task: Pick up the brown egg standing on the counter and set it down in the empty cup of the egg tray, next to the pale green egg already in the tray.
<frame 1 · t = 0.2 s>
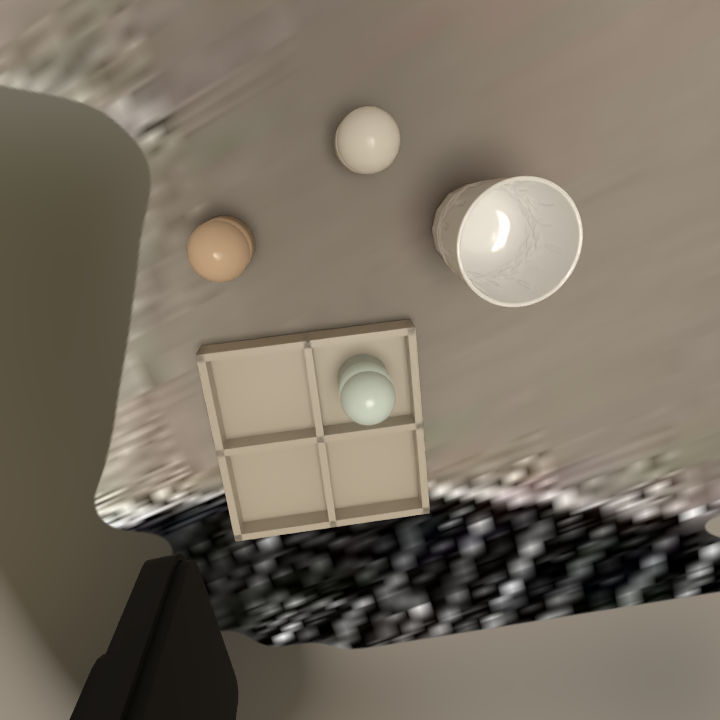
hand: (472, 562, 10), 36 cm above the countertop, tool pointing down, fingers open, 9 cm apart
white cup: (473, 227, 44), on the countertop
brown egg: (226, 244, 43), on the countertop
egg tray: (320, 426, 48), on the countertop
green egg: (362, 378, 46), point 1 cm above the countertop, touching egg tray
white egg: (362, 143, 41), on the countertop
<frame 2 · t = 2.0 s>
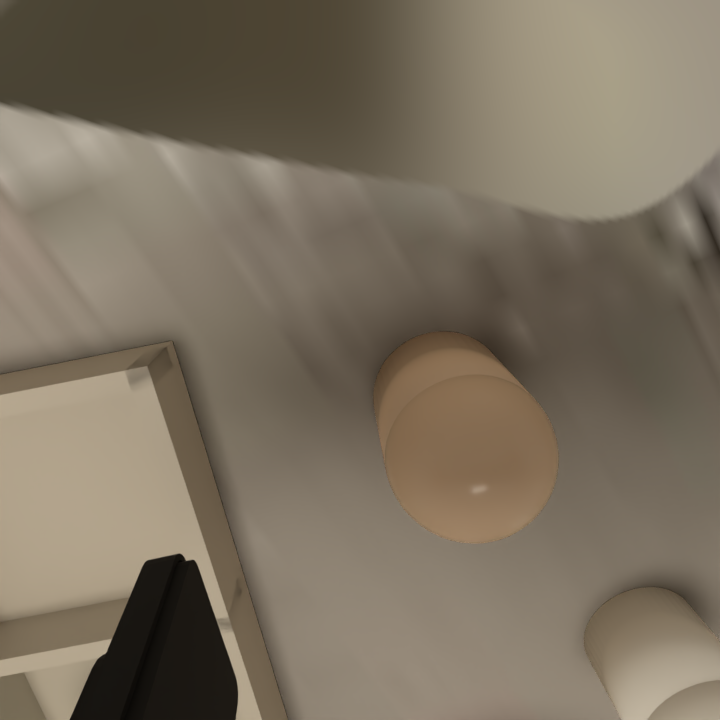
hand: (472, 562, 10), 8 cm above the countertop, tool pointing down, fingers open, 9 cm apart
brown egg: (439, 395, 18), on the countertop
egg tray: (4, 617, 19), on the countertop
white egg: (639, 633, 21), on the countertop
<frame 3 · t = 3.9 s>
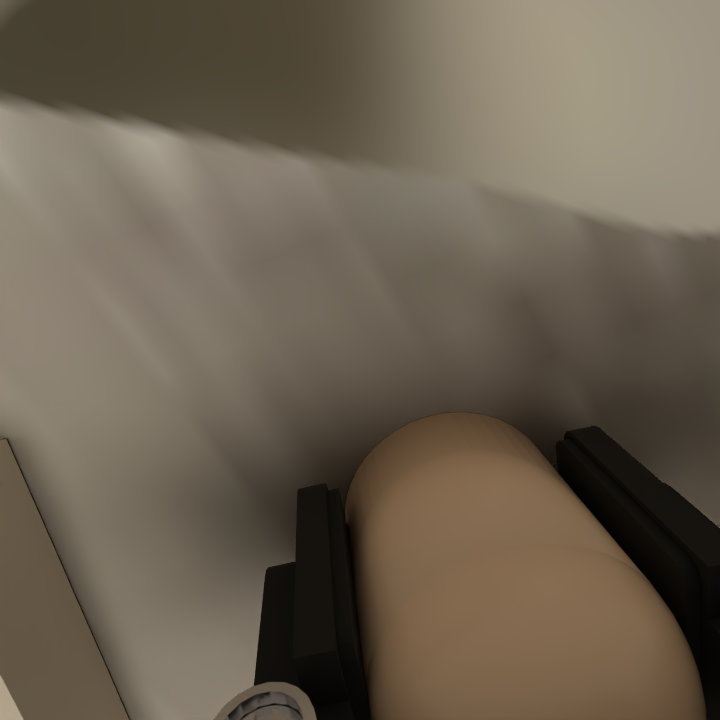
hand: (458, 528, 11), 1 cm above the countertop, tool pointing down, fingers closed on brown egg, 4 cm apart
brown egg: (449, 508, 11), on the countertop, touching gripper
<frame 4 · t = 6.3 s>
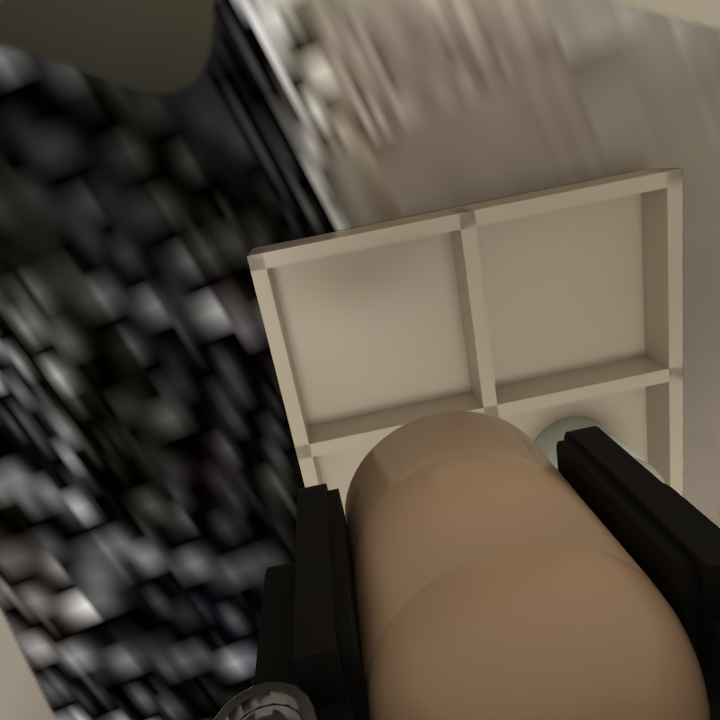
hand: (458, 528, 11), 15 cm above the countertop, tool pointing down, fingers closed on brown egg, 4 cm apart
brown egg: (450, 508, 11), point 14 cm above the countertop, touching gripper
egg tray: (475, 392, 26), on the countertop
green egg: (571, 456, 27), point 1 cm above the countertop, touching egg tray
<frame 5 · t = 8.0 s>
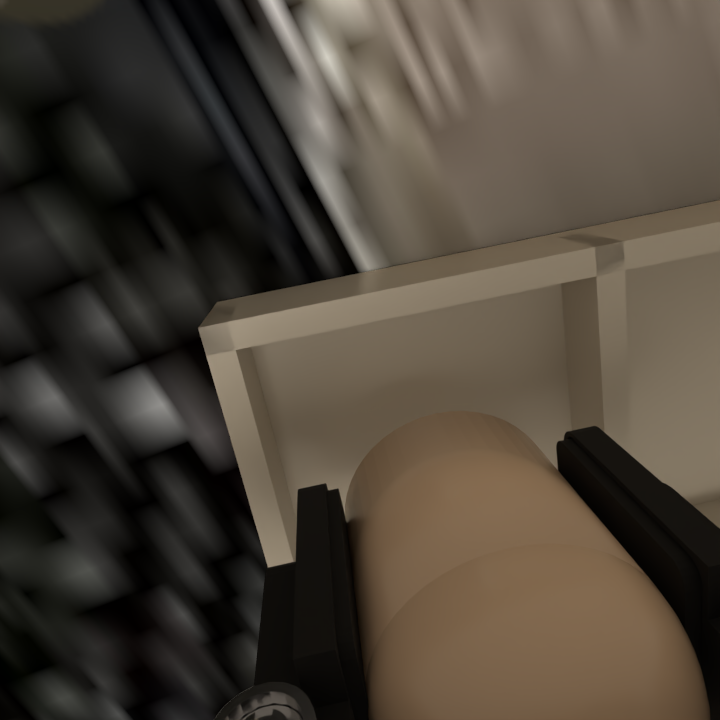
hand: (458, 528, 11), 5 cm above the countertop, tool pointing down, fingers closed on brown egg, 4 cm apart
brown egg: (450, 508, 11), point 4 cm above the countertop, touching gripper
egg tray: (580, 523, 16), on the countertop
when the fingers open (3 cm above the countertop, at t = 9.0 s): brown egg drops 2 cm, resting on egg tray.
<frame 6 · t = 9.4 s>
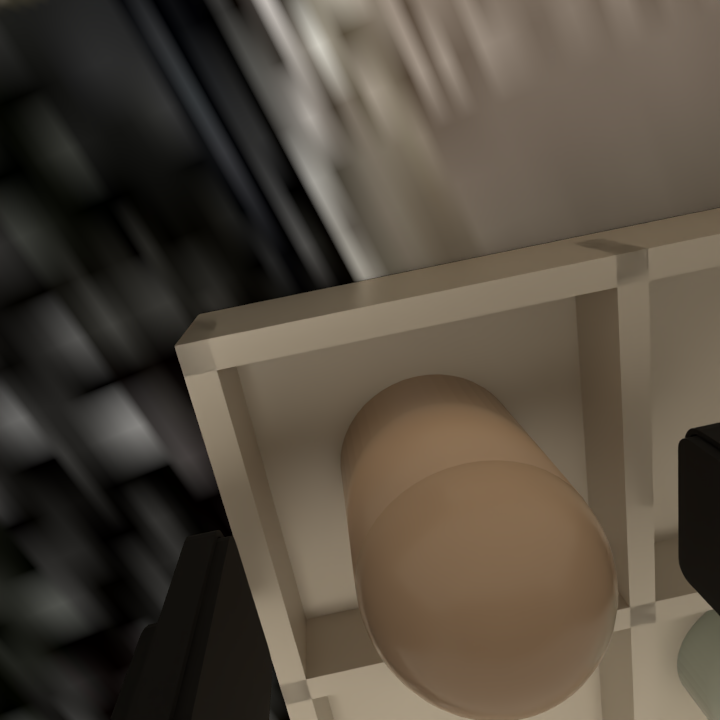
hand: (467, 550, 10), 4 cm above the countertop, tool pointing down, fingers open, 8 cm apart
brown egg: (429, 458, 13), point 1 cm above the countertop, touching egg tray
egg tray: (592, 549, 15), on the countertop
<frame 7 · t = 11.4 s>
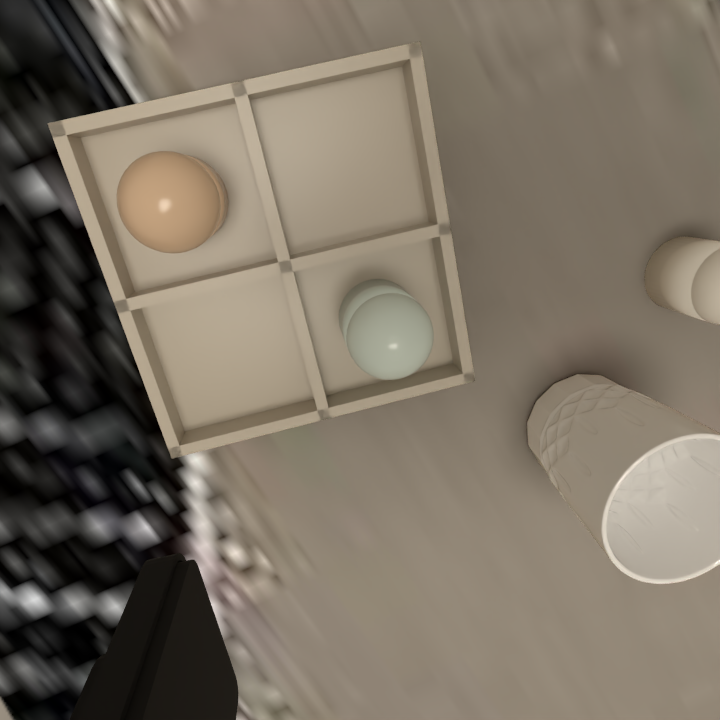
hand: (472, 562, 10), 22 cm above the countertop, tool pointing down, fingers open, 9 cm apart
white cup: (575, 422, 36), on the countertop
brown egg: (185, 200, 28), point 1 cm above the countertop, touching egg tray
egg tray: (285, 260, 30), on the countertop
green egg: (376, 317, 31), point 1 cm above the countertop, touching egg tray
white egg: (678, 272, 33), on the countertop
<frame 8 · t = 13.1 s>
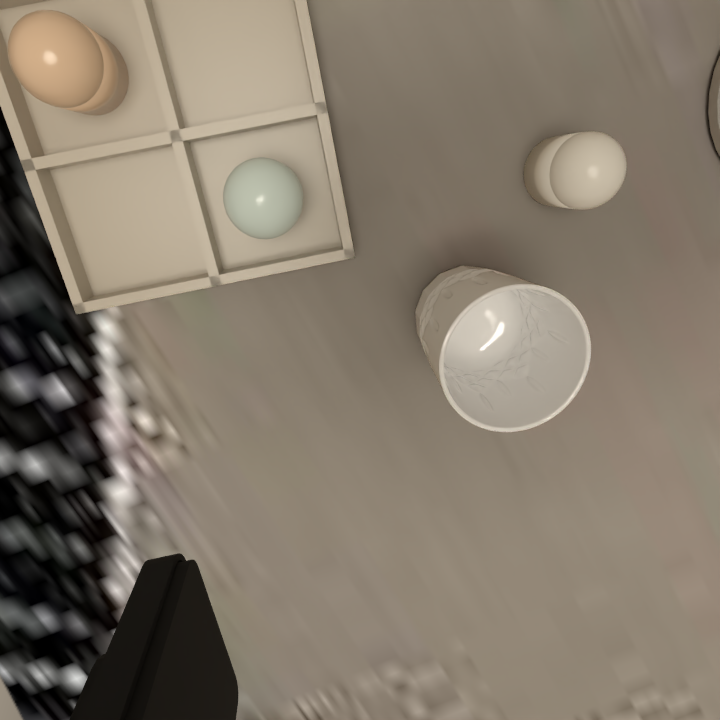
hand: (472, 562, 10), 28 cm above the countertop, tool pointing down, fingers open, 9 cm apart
white cup: (463, 314, 38), on the countertop
brown egg: (89, 74, 31), point 1 cm above the countertop, touching egg tray
egg tray: (184, 138, 33), on the countertop
green egg: (268, 196, 34), point 1 cm above the countertop, touching egg tray
white egg: (556, 171, 36), on the countertop
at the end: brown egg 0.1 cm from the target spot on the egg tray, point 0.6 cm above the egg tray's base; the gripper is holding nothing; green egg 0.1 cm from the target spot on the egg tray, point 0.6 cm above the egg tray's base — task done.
